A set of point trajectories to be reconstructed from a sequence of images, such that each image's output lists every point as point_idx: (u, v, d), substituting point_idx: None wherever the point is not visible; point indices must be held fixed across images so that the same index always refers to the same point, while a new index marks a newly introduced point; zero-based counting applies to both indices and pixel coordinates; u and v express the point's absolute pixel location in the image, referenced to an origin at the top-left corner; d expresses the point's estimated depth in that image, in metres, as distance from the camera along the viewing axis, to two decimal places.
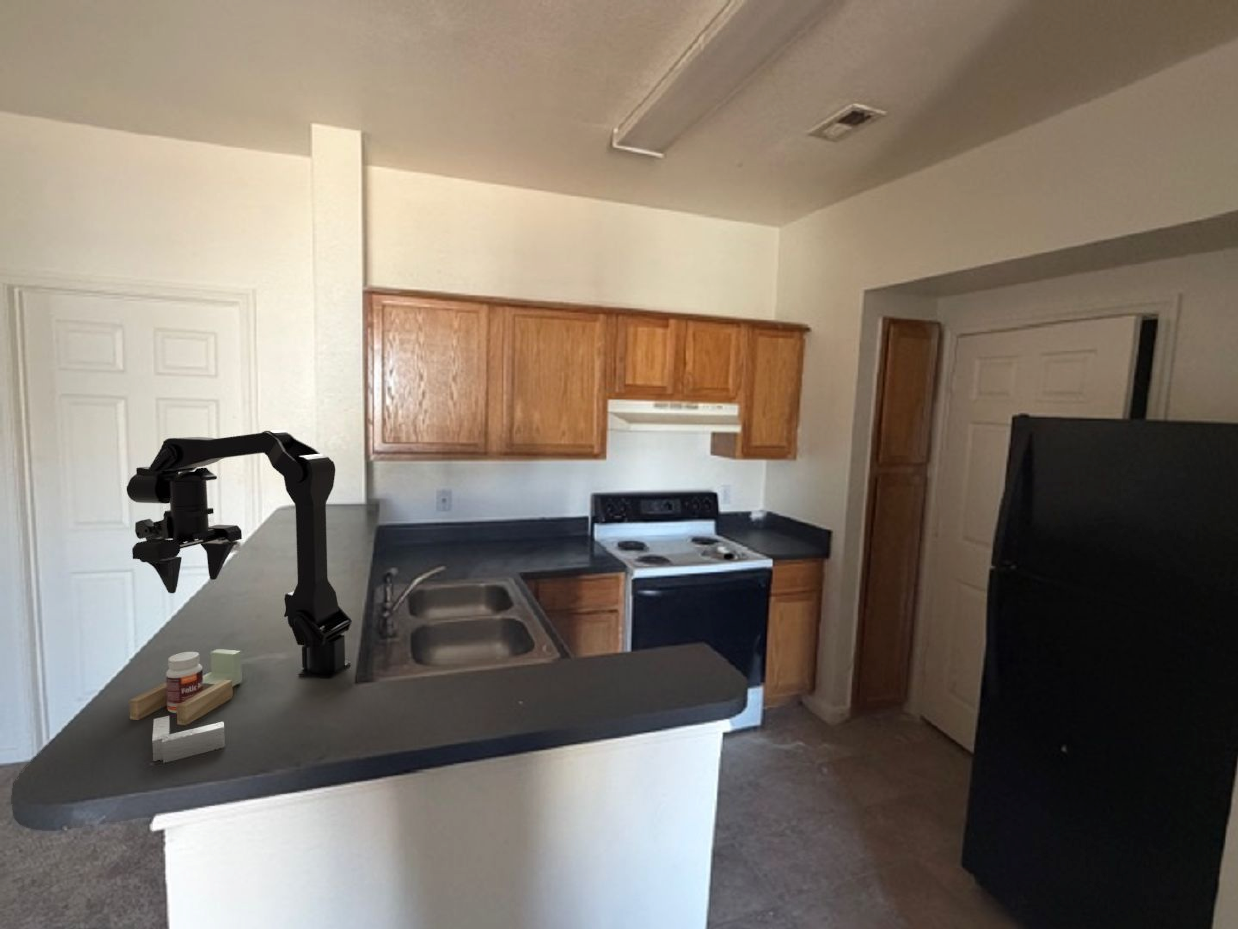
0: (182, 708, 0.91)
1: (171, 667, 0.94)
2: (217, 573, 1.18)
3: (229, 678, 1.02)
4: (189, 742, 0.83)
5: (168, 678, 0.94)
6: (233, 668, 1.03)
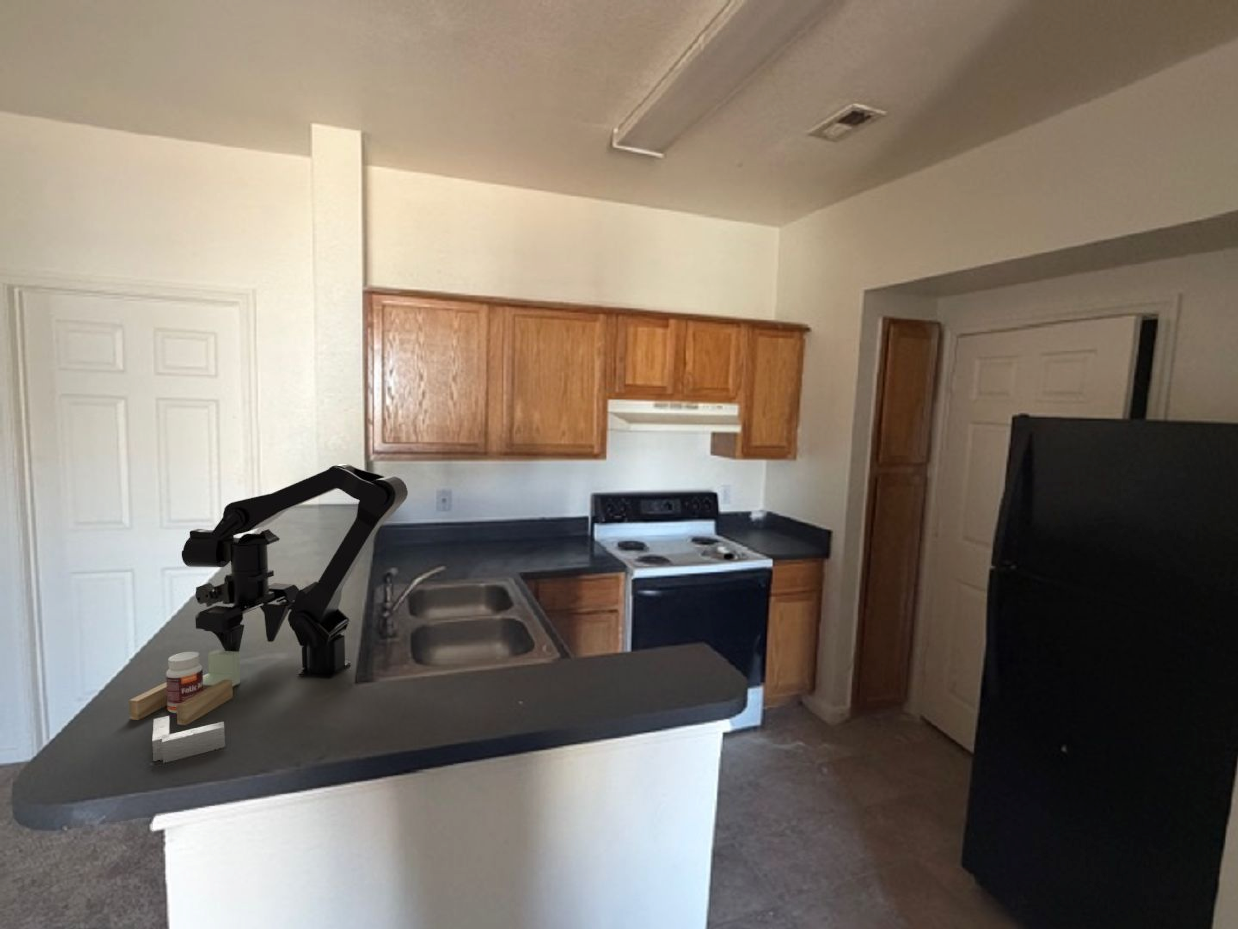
0: (182, 708, 0.91)
1: (171, 667, 0.94)
2: (275, 635, 1.15)
3: (227, 679, 1.02)
4: (189, 742, 0.83)
5: (168, 678, 0.94)
6: (231, 669, 1.03)
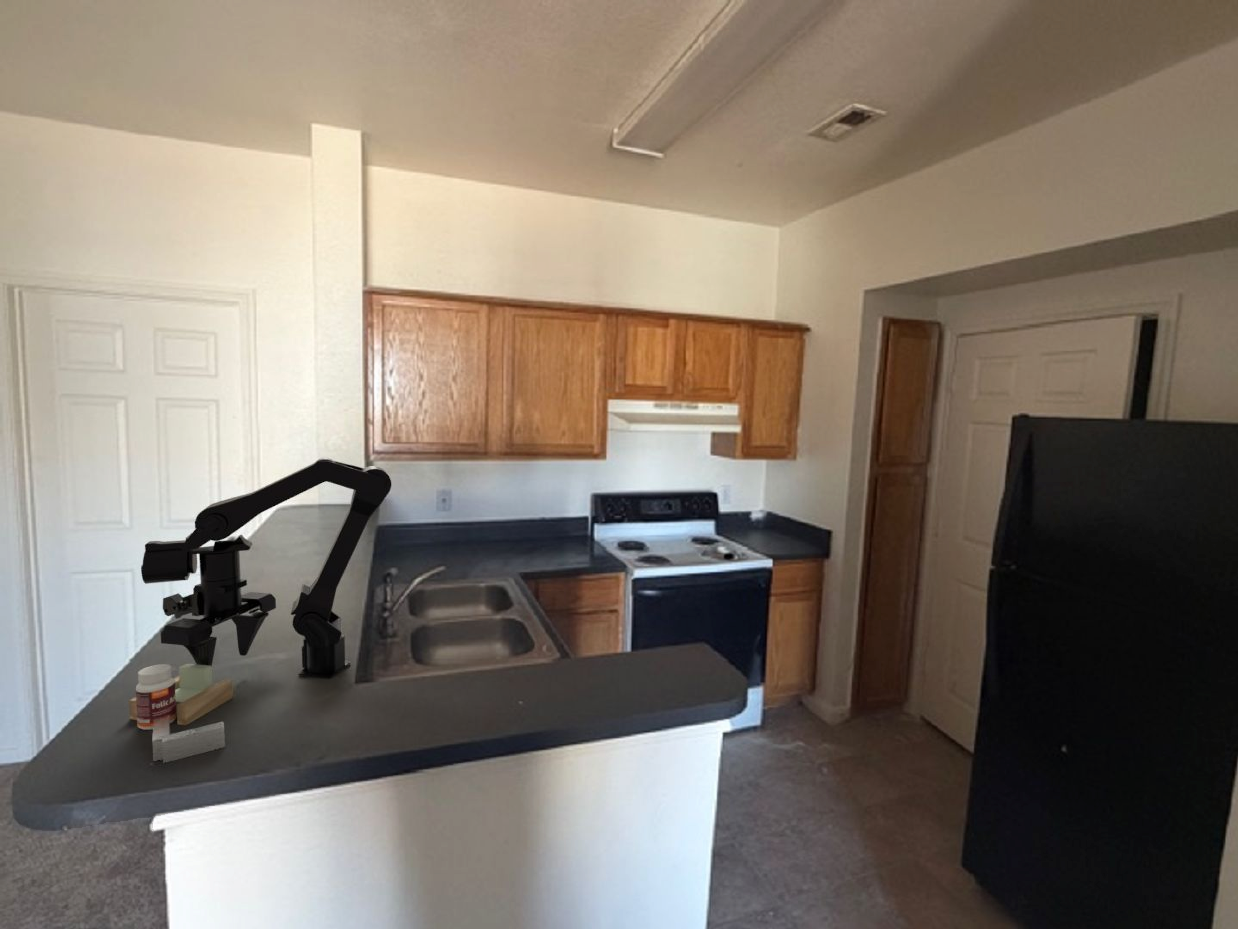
0: (182, 708, 0.91)
1: (141, 681, 0.89)
2: (247, 649, 1.08)
3: None
4: (189, 742, 0.83)
5: (138, 693, 0.89)
6: (203, 684, 0.97)
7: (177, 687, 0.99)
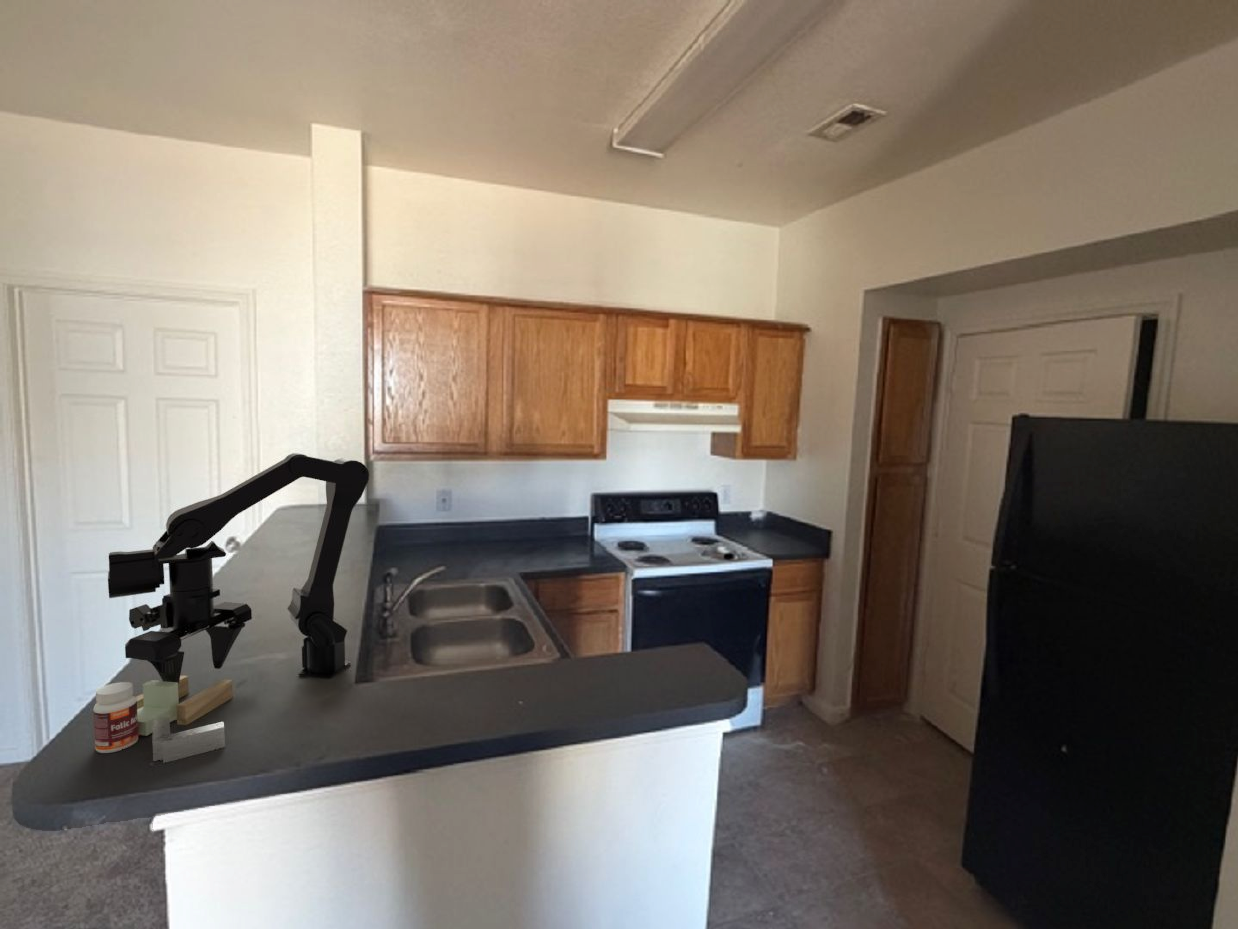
0: (182, 708, 0.91)
1: (99, 701, 0.83)
2: (222, 661, 1.03)
3: (163, 714, 0.90)
4: (189, 742, 0.83)
5: (95, 713, 0.83)
6: (169, 703, 0.91)
7: None
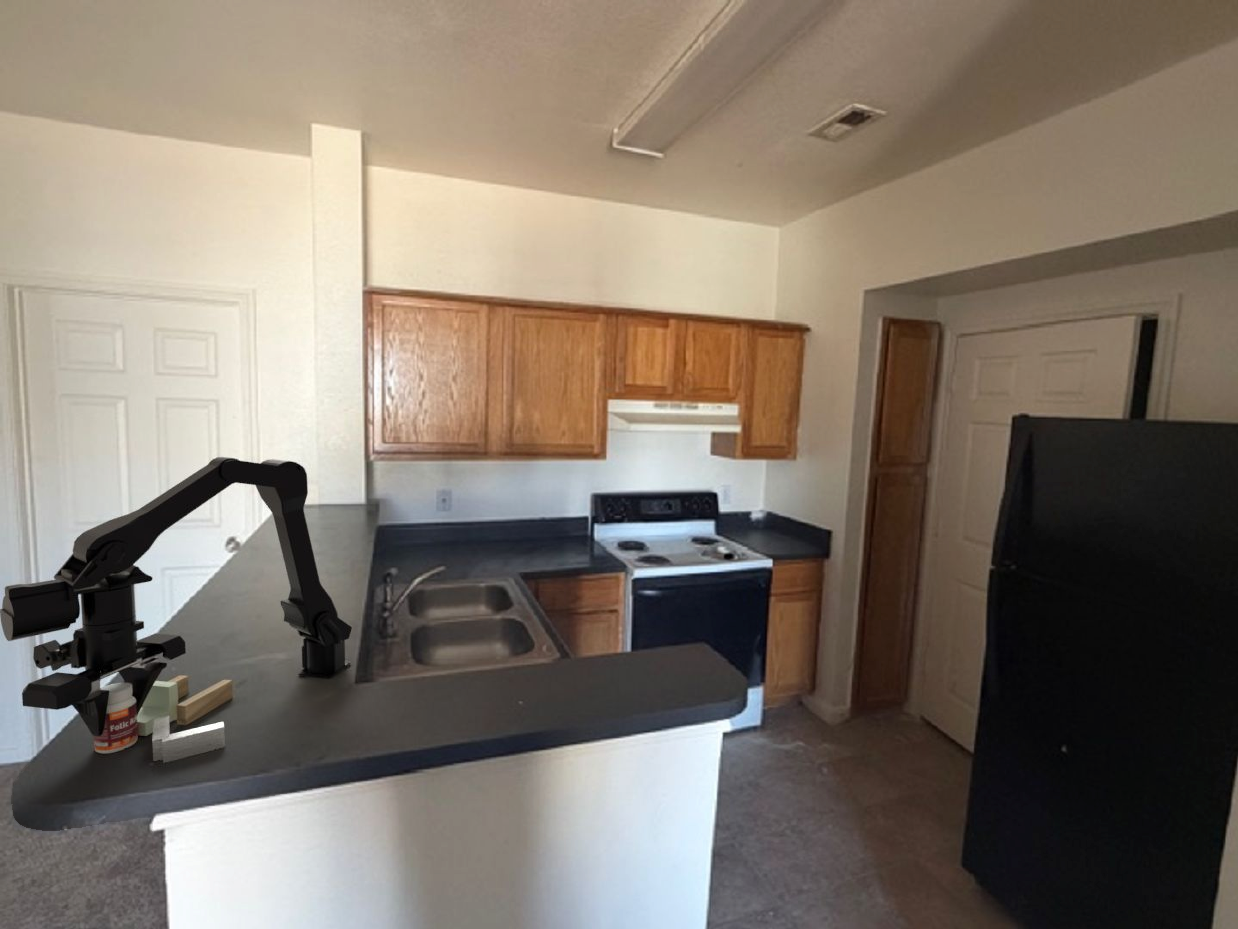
0: (182, 708, 0.91)
1: None
2: (138, 709, 0.87)
3: (162, 714, 0.90)
4: (189, 742, 0.83)
5: None
6: (168, 703, 0.91)
7: None
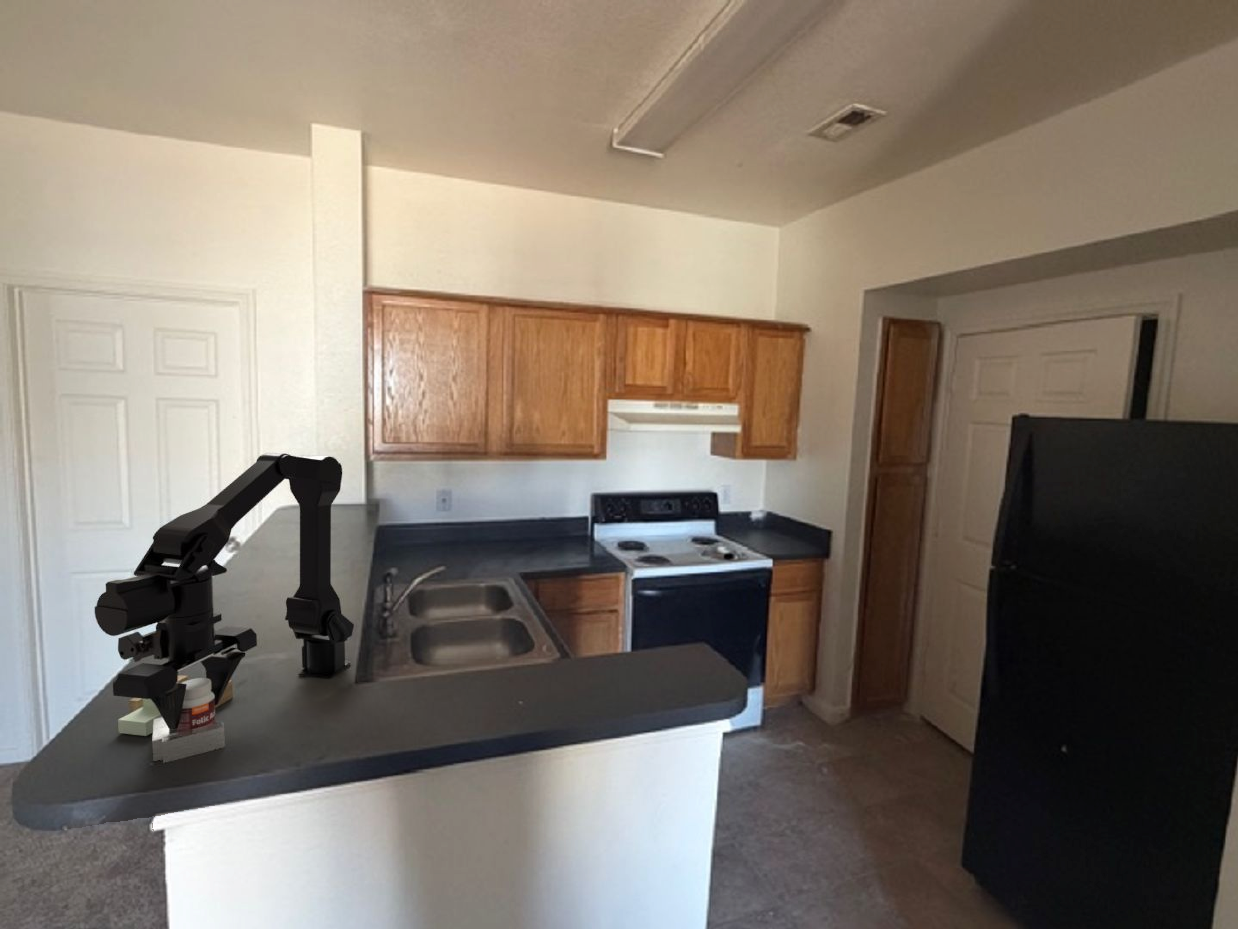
0: None
1: None
2: (219, 697, 0.90)
3: None
4: (189, 742, 0.83)
5: None
6: None
7: None
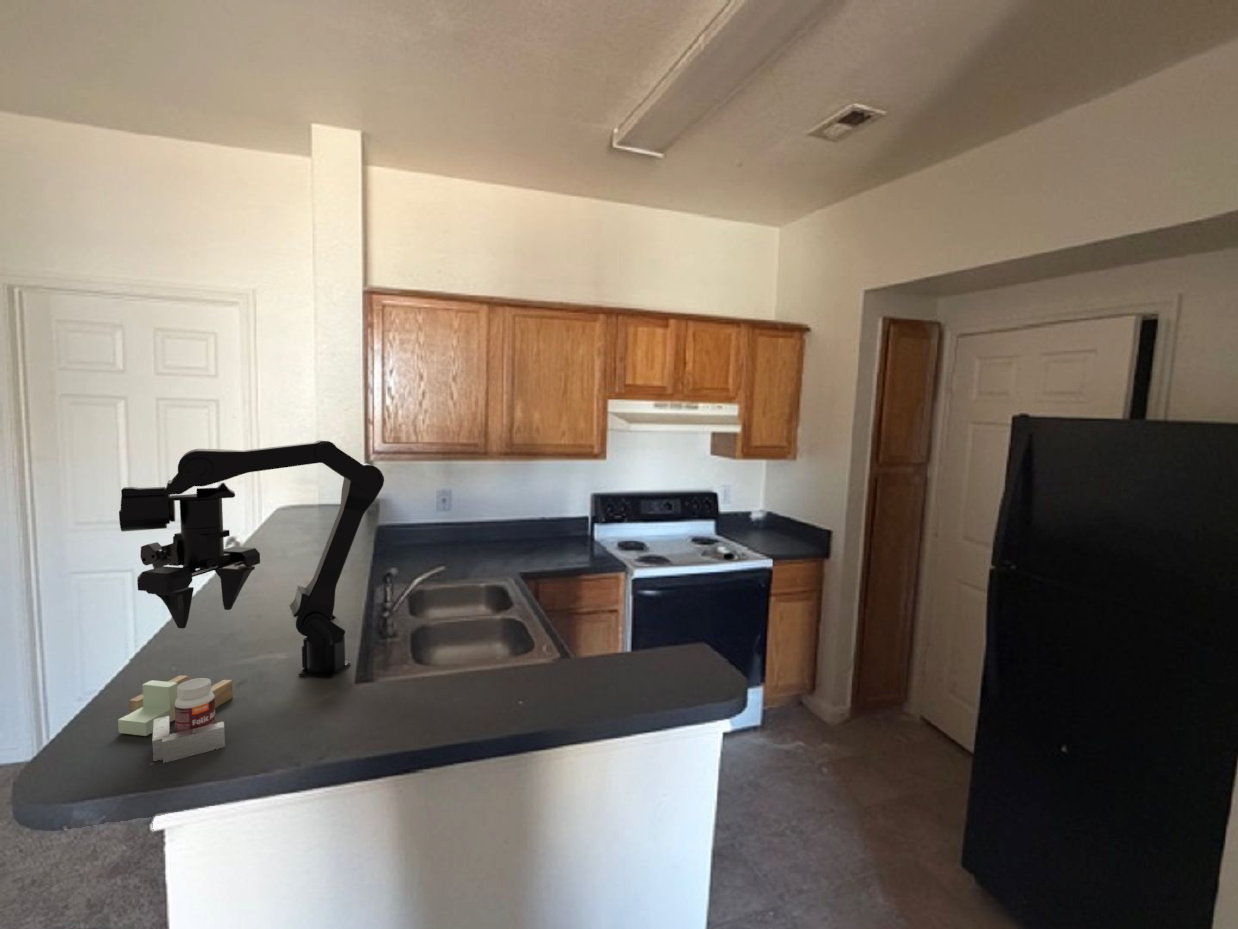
0: None
1: (180, 696, 0.85)
2: (232, 603, 1.04)
3: (163, 714, 0.90)
4: (189, 742, 0.83)
5: (177, 708, 0.85)
6: (168, 703, 0.91)
7: None
